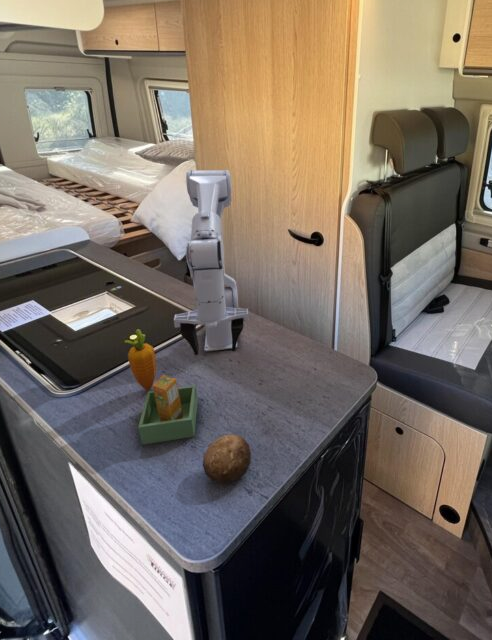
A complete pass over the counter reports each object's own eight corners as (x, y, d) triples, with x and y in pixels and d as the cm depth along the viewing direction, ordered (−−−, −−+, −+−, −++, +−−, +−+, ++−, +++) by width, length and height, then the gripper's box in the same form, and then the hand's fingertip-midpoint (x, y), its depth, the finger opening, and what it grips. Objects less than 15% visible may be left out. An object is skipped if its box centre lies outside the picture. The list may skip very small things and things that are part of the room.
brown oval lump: (226, 425, 73) (223, 422, 67) (261, 451, 72) (259, 450, 66) (197, 466, 69) (190, 466, 64) (232, 494, 68) (229, 496, 62)
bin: (150, 407, 80) (147, 391, 78) (197, 401, 82) (195, 384, 80) (142, 445, 72) (137, 427, 70) (194, 436, 74) (191, 419, 72)
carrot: (151, 400, 82) (140, 342, 76) (130, 396, 83) (117, 338, 76) (165, 384, 86) (155, 328, 80) (145, 380, 87) (134, 324, 81)
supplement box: (158, 423, 76) (150, 384, 72) (170, 411, 79) (164, 372, 75) (172, 429, 75) (165, 389, 71) (184, 416, 78) (178, 377, 74)
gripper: (168, 309, 72) (177, 366, 78) (247, 302, 76) (250, 358, 81) (173, 290, 79) (181, 344, 84) (246, 285, 82) (249, 337, 88)
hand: (215, 350), depth 83 cm, fingers open, 7 cm apart
